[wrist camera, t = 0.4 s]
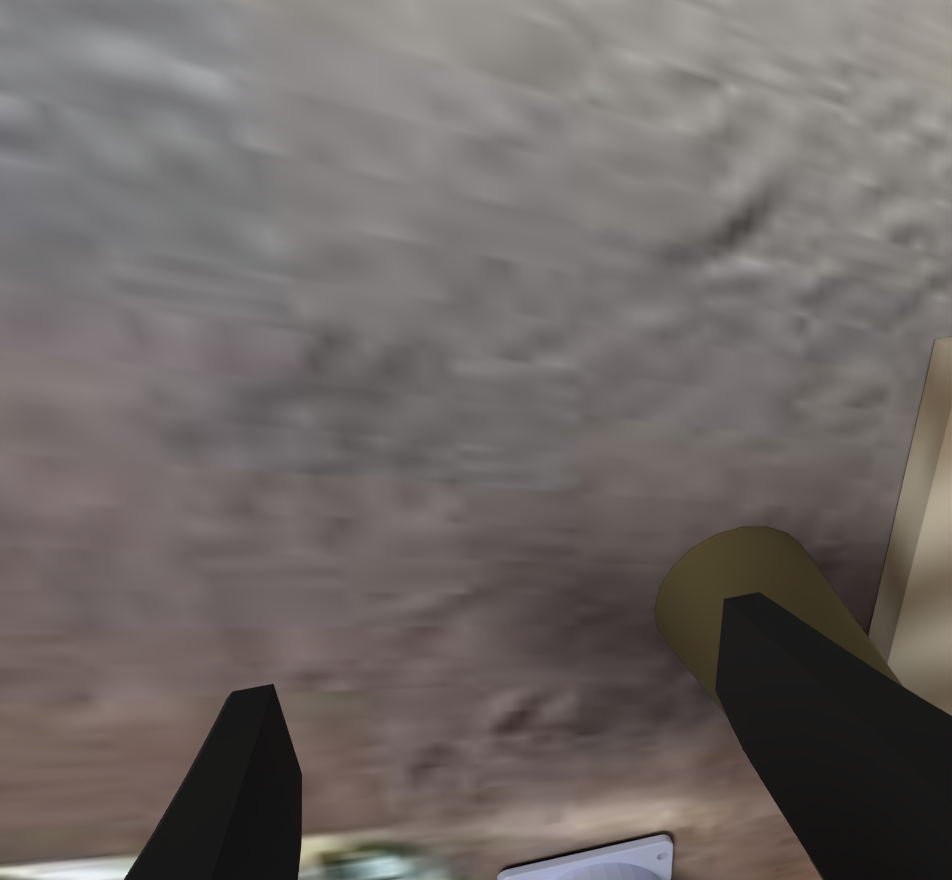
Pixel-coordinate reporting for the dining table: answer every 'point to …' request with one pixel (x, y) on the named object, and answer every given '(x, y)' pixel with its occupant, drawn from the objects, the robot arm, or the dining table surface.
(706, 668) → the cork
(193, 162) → the dining table surface
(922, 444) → the birch board
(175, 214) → the dining table surface
